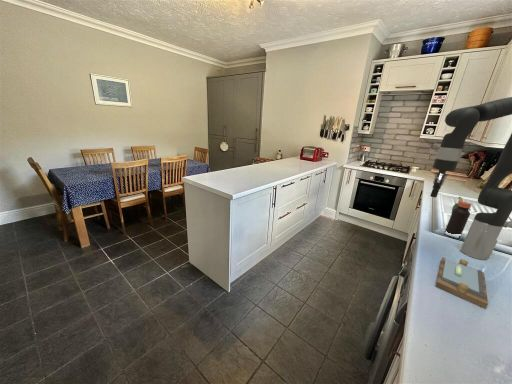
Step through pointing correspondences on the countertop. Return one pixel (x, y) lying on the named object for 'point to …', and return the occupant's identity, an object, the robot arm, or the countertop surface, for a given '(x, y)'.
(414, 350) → the countertop surface
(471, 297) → the base
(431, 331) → the countertop surface
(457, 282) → the level plate
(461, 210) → the bottle
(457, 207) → the vegetable
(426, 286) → the countertop surface
